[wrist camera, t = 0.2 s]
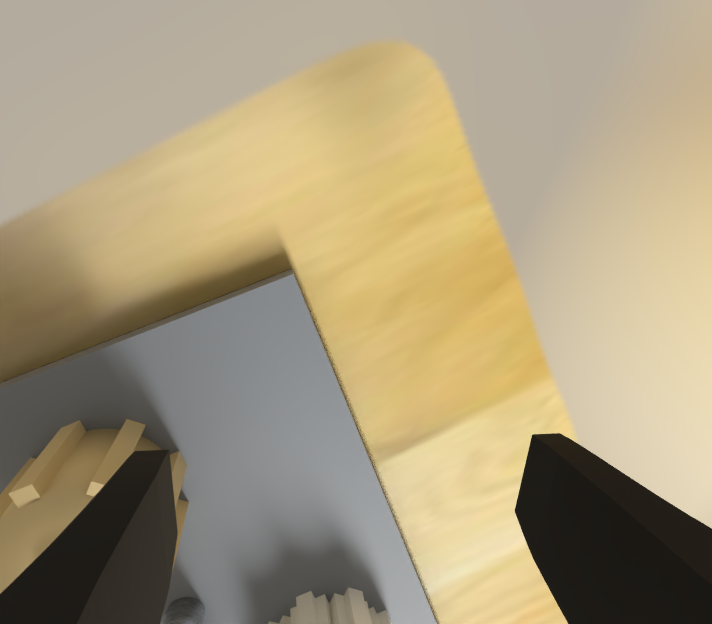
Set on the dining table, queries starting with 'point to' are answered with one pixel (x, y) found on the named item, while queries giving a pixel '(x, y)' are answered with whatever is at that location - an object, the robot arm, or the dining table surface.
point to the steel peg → (185, 611)
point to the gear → (334, 610)
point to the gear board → (214, 458)
